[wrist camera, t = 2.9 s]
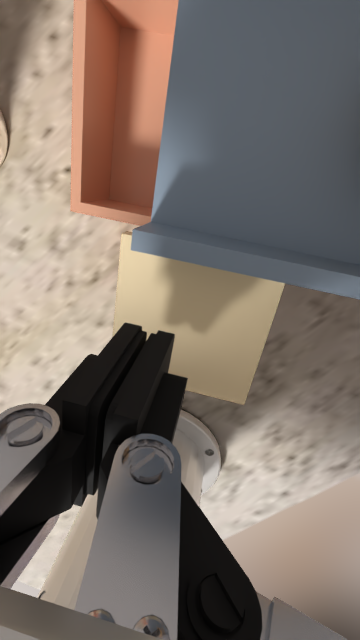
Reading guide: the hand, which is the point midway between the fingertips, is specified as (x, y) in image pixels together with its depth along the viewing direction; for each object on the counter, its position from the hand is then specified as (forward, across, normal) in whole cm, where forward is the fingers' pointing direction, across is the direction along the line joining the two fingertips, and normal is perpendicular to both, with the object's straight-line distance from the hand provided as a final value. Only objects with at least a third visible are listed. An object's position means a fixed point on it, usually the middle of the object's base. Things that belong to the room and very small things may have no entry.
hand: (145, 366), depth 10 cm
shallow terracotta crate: (+14, +2, -8) cm, 17 cm away
